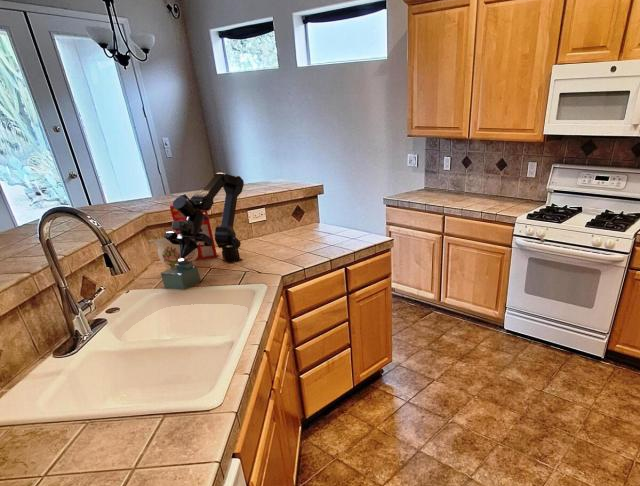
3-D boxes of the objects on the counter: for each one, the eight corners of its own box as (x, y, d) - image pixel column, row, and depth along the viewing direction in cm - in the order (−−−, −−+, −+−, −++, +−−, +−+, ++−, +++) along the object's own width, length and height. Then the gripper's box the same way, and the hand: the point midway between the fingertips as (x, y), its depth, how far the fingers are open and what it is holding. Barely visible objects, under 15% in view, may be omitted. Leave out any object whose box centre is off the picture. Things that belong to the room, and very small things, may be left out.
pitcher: (201, 269, 188) (193, 238, 181) (155, 275, 182) (146, 243, 175) (201, 263, 197) (194, 233, 190) (158, 268, 191) (149, 237, 184)
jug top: (184, 278, 178) (179, 259, 174) (203, 280, 176) (198, 261, 172) (164, 288, 168) (159, 268, 164) (184, 289, 166) (179, 270, 162)
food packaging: (216, 254, 210) (204, 201, 198) (217, 256, 206) (205, 202, 194) (183, 258, 204) (169, 204, 193) (183, 261, 200) (169, 206, 189)
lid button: (183, 262, 172) (182, 258, 171) (190, 262, 171) (189, 258, 171) (177, 265, 169) (175, 260, 168) (184, 265, 168) (183, 261, 168)
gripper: (160, 211, 168) (147, 246, 164) (201, 212, 164) (189, 248, 159) (179, 226, 178) (167, 260, 174) (218, 228, 174) (207, 262, 170)
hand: (182, 257), depth 169 cm, fingers closed
